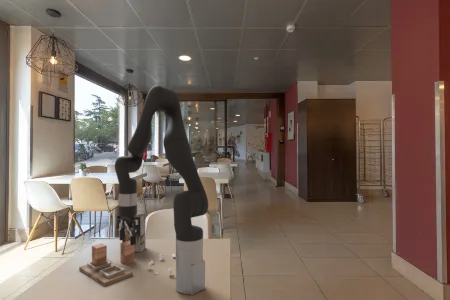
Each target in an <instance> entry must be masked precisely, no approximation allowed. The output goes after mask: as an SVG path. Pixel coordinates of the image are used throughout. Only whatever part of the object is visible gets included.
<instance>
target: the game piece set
mask: <svg viewBox="0 0 450 300" xmlns="http://www.w3.org/2000/svg"><path fill="white" fill-rule="evenodd" d="M171 257H172V258H176V251H173V253H172V255H171ZM163 258H164V254H162V253H161V254H159V261H162V260H164V259H163ZM152 265H154V261H153V260H151V261H148V263H147V269H148V270H149V271H150V270H151V268H152ZM153 272H154V275H159V274H160V273H159V272H156V271H155V270H153ZM167 272H168V276H169V277H171V276H172V275H173V272H174V270H173V268H170V267H169V268H168V270H167Z"/></svg>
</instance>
